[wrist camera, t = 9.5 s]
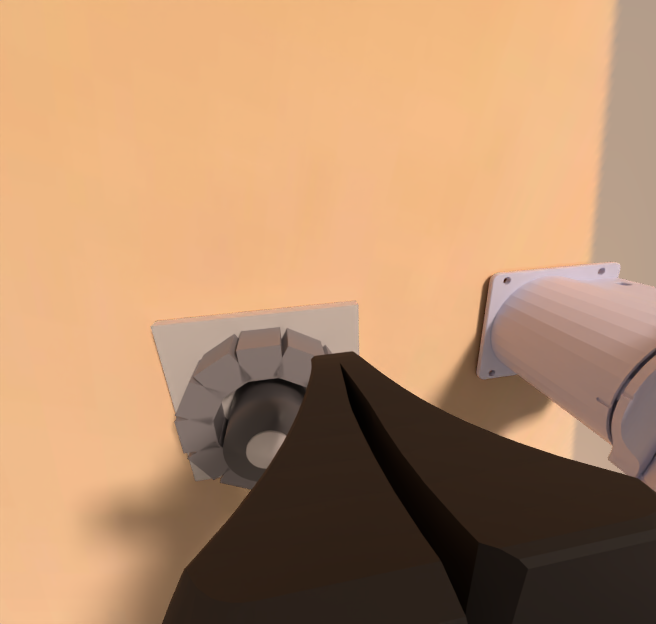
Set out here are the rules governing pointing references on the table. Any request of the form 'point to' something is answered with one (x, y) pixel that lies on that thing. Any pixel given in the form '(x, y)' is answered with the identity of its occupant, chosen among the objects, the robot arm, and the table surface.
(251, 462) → the grey cylinder
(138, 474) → the table surface
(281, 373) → the segmented ring plate
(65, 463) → the table surface
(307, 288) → the table surface
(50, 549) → the table surface
